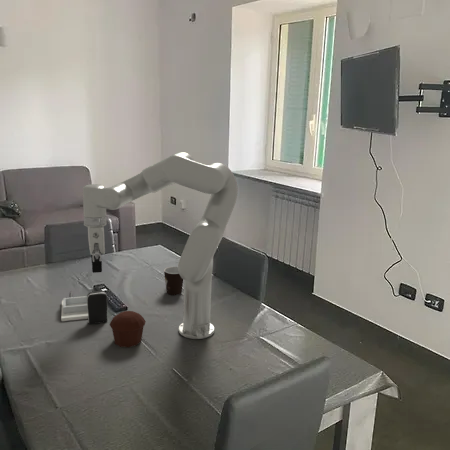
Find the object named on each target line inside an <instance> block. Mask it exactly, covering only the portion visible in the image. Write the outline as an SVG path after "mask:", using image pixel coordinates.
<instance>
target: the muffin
mask: <svg viewBox="0 0 450 450" xmlns="http://www.w3.org/2000/svg"><path fill="white" fill-rule="evenodd" d="M146 323H147V322H146V320H145V318H144V316H142V314H141V313H139V312H136V311H133V310H125V311H121V312H118V314H115V315H114V316H113V317H112V319H111V321H109V327H111V331H112V335H113V340H114V341H113V342H114V344H115V345H116V346H118V347H120V348H132V347H135V346H137V345H139V344H140V343H141V342H142V338H143V332H144V327H145V325H146Z"/></svg>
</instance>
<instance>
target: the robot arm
mask: <svg viewBox="0 0 450 450" xmlns="http://www.w3.org/2000/svg"><path fill="white" fill-rule="evenodd" d="M174 184H177V185H179V186H182V187H186V188H188V189H190V190H194V191H197V192H199V193H203V194H206V195H207V194H208V195H211V196H210V198H209V199H208V201H207V204H206V206H205V207H206V208H205V210H204V212H203V214H202V216H201V218H200V219H199V221H198V223H197V224H196V225H195V226H194V227H193V229H192V230H191V232H190V234H189V236H188V238H187V240H186V242H185V245H184V247H183V251H182V252H181V255H180V256H179V257H180V258H179V260H178V263H177V267H178V272H179V274H180V276H181V277H182V278H183V297H182V298H183V300H182V302H183V306H182V307H183V308H182V309H183V311H182V312H183V313H182V314H183V315H182V317H183V318H182V323H181V324H179V326H178V332H179V334H180V335H181V336H183V337H184V338H187V339H193V340H201V339H207V338H209V337H211V336H212V335H213V334H214V333H215V326H214V324H212V323H211V310H212V309H211V304H212V302H211V301H212V298H211V297H212V282H213V281H212V279H213V278H212V277H213V268H214V255H215V253H216V252H217V250H218V246H219V245H220V243H221V241H222V239H223V237H224V233H225V231H226V228H227V225H228V222H229V220H230V218H231V215H232V212H233V211H234V208H235V205H236V203H237V199H238V183H237V179H236V177H235V175H234V173H233V172H232V170H231V169H230V168H229V167H228V166H227V165H225V164H224V163H221V162H213V163H210V164H209V165H207V164H203V163H201V162H198V161H195V159H194V158H193V156H192V155H191V154H190V153H187V152H185V151H184V152H181V151H180V152H177V153H175V154H172V155H170V156H168V157H166V158H164V159H163V160H160V161H158V162H156V163H154V164H152V165H149V166H148V167H145V168H144V169H143V170H142V171H141V172H140V173H138V174H136V175H134V176H132V177H129V178H128V179H126V180H124V181H122V182H119V183H117V184H114V185H112V186H109V187H105V186H104V185H102V184H94V183H93V184H91V183H90V184H87V185H84V186H83V187H82V206H83V207H82V208H83V209H82V211H83V226H85V227H86V228H87V239H88V246H89V247H88V248H89V254H90V256H91V272H92V273H93V274H95V273H103V262H102V255H105V253H106V248H105V228H104V227H105V226H107V210H110V211H111V210H112V211H113V210H114V211H115V210H118V209H120V208H122V207H124V206H125V205H127V204H129V203H131V202H133V201H135V200H137V199H140V198H141V197H144V196H146V195H148V194H151V193H152V194H153V193H154V194H155V193H157V192H160V191H162V190H164V189H167V188H168V187H170V186H173V185H174Z"/></svg>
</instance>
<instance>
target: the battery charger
mask: <svg viewBox="0 0 450 450" xmlns="http://www.w3.org/2000/svg"><path fill="white" fill-rule="evenodd" d="M86 296H87V309H88V319H87V320H88V324H89V325H94V324H95V325H96V324H100V323H105V322H108V295H107V293H106V292H105V291H104V290H98V291H96V290H95V291H92V292H88V293H87V295H86Z"/></svg>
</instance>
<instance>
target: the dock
mask: <svg viewBox="0 0 450 450" xmlns="http://www.w3.org/2000/svg"><path fill="white" fill-rule="evenodd" d="M69 293H70V295H69V297H63V299H62V300H61V317H60V319H61V320H60V321H61V322H67V321H77V320H88V309H87V295H85V296H84V295H83V296H73V290H71V291H70V292H69Z"/></svg>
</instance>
